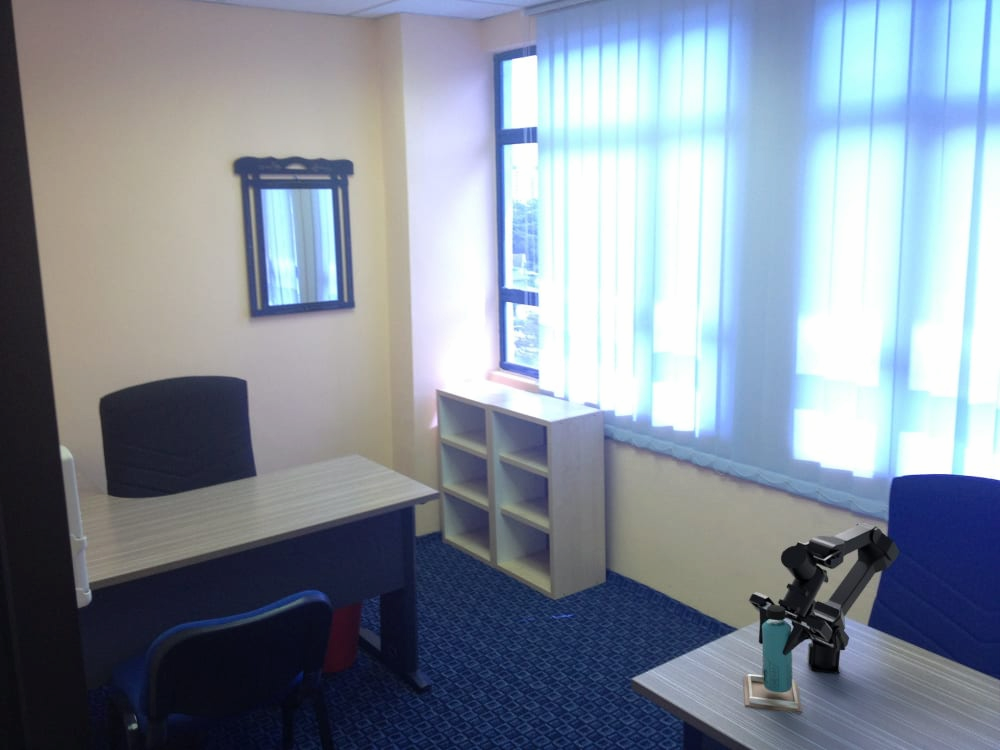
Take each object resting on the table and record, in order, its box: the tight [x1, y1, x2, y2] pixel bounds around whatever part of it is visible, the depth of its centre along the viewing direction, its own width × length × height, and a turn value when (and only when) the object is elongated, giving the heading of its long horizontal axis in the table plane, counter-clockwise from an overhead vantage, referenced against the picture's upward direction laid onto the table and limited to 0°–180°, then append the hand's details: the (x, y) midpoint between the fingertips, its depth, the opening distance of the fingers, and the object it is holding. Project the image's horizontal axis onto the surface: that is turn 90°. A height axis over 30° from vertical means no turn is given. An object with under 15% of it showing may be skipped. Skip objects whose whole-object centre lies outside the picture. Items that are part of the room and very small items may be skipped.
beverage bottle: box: [761, 604, 793, 693], centre depth 201 cm, size 6×7×20 cm
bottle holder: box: [742, 673, 803, 714], centre depth 204 cm, size 12×12×2 cm
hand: (771, 648), depth 201 cm, fingers closed on beverage bottle, 6 cm apart
